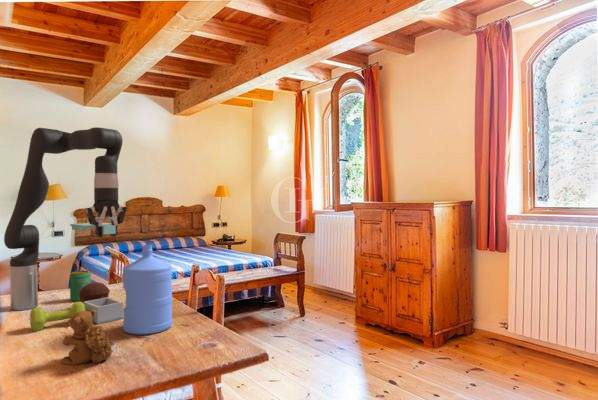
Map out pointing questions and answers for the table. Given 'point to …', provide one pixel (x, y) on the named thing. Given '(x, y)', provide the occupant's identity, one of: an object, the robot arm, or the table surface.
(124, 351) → the table surface
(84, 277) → the beverage can
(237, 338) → the table surface
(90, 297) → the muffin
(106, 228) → the teal flat paddle shape
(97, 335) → the stuffed squirrel
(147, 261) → the water jug
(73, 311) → the dumbbell
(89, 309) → the tub
